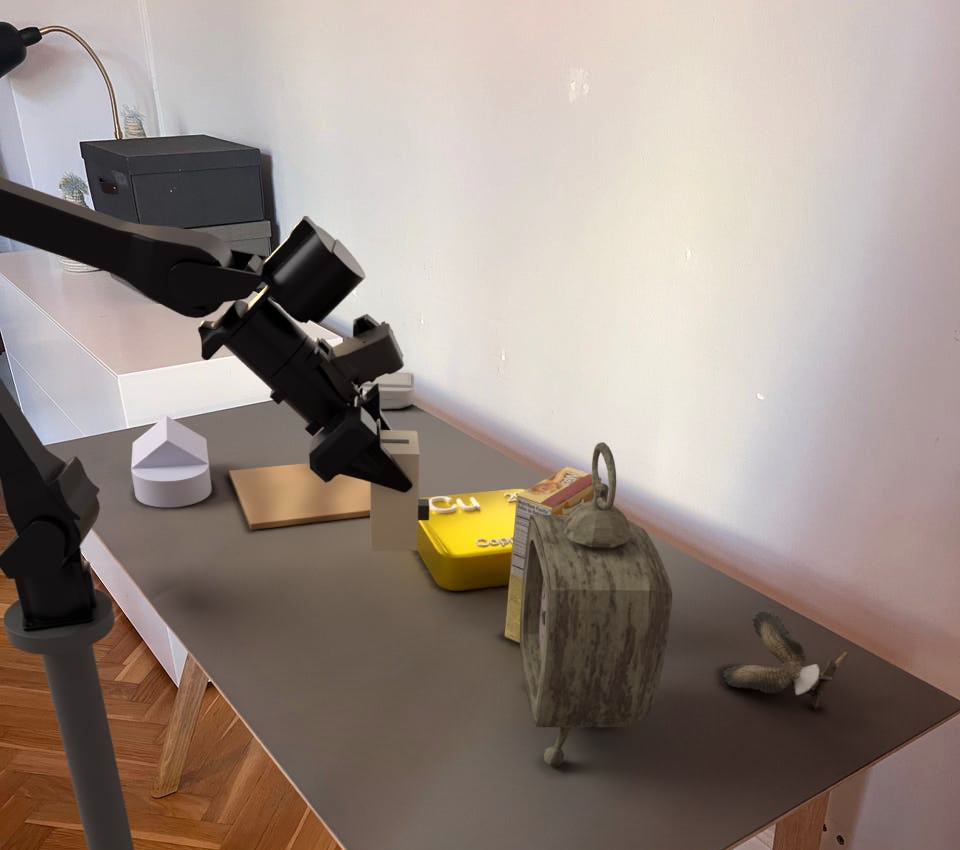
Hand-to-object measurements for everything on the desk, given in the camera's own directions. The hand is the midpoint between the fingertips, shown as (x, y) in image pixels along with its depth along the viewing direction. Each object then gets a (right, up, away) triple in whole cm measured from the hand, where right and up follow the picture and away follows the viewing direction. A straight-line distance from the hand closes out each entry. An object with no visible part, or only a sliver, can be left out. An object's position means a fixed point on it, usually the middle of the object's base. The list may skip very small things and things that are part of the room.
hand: (408, 475), depth 90 cm
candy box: (+13, -15, +3) cm, 20 cm away
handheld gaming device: (-11, +24, +55) cm, 61 cm away
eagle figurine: (+34, -20, -4) cm, 40 cm away
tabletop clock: (+15, -23, -10) cm, 29 cm away
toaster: (-2, -6, +3) cm, 7 cm away
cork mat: (-13, +2, +27) cm, 31 cm away
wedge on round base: (-31, +3, +27) cm, 42 cm away
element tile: (+8, -7, +16) cm, 19 cm away
